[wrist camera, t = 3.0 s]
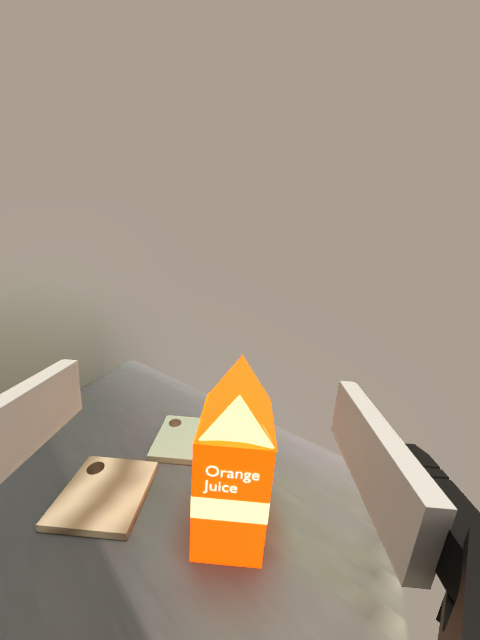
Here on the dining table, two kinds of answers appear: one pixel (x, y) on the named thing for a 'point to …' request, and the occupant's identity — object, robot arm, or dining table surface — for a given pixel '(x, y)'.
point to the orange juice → (232, 472)
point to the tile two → (174, 441)
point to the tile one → (100, 499)
